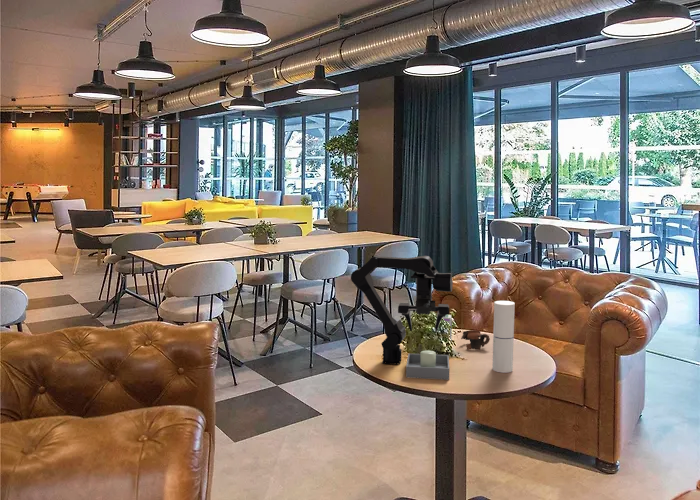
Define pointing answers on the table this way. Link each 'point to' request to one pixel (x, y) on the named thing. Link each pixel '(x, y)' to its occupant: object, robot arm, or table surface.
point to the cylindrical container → (503, 336)
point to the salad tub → (428, 359)
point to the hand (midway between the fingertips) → (423, 331)
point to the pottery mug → (475, 339)
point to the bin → (427, 368)
